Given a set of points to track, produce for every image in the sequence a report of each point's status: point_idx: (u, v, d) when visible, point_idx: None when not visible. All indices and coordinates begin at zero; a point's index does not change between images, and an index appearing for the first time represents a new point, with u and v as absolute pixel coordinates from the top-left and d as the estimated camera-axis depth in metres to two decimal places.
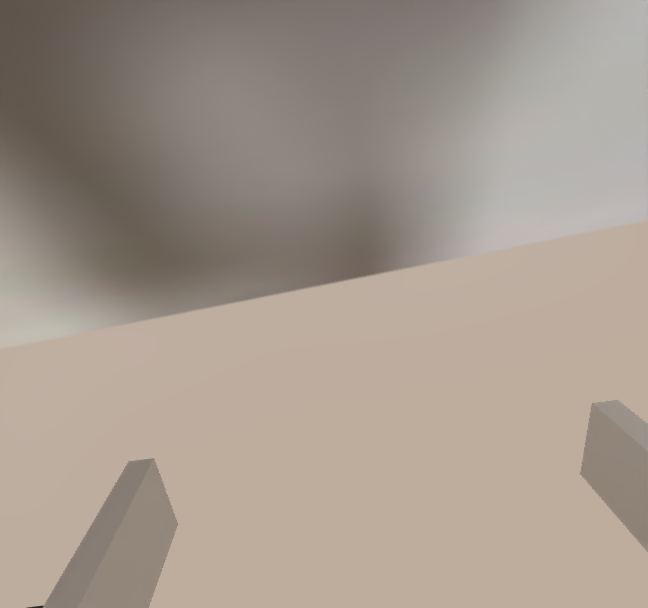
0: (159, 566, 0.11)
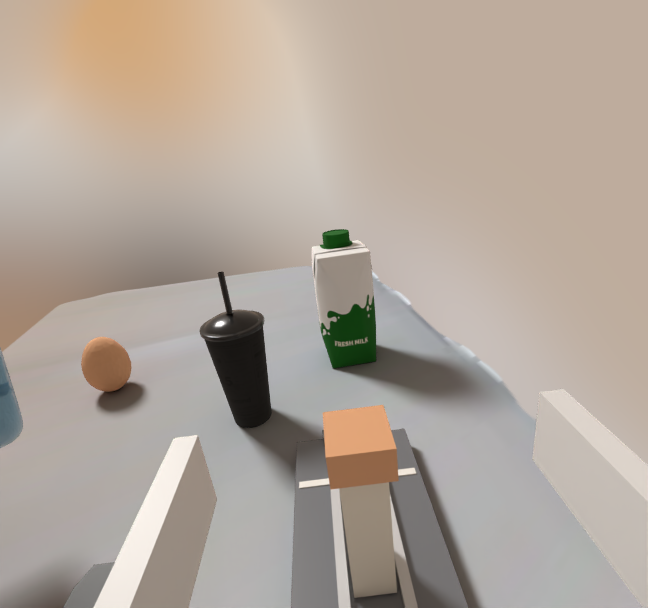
0: (204, 535, 0.11)
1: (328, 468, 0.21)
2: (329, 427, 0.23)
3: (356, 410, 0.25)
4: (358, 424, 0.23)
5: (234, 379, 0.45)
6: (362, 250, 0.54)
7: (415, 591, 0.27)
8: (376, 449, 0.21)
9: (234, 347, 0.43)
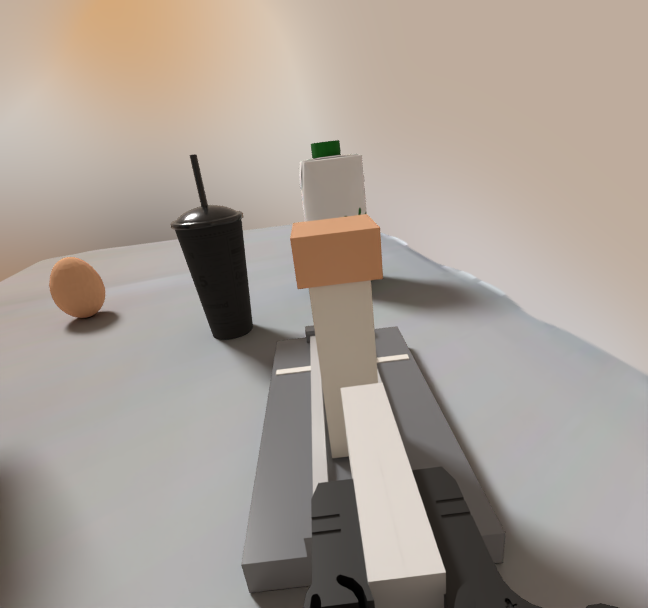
0: None
1: (294, 256, 0.17)
2: (299, 227, 0.19)
3: (333, 219, 0.20)
4: (334, 223, 0.19)
5: (209, 277, 0.40)
6: None
7: None
8: (354, 230, 0.17)
9: (208, 238, 0.39)
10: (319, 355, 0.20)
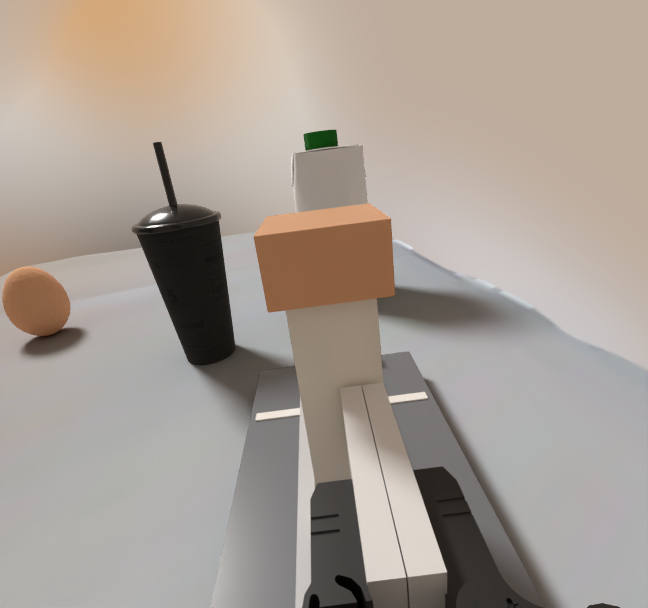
0: None
1: (261, 263, 0.11)
2: (273, 221, 0.13)
3: (323, 210, 0.14)
4: (323, 215, 0.13)
5: (179, 292, 0.33)
6: None
7: None
8: (352, 222, 0.11)
9: (176, 244, 0.31)
10: (303, 404, 0.14)
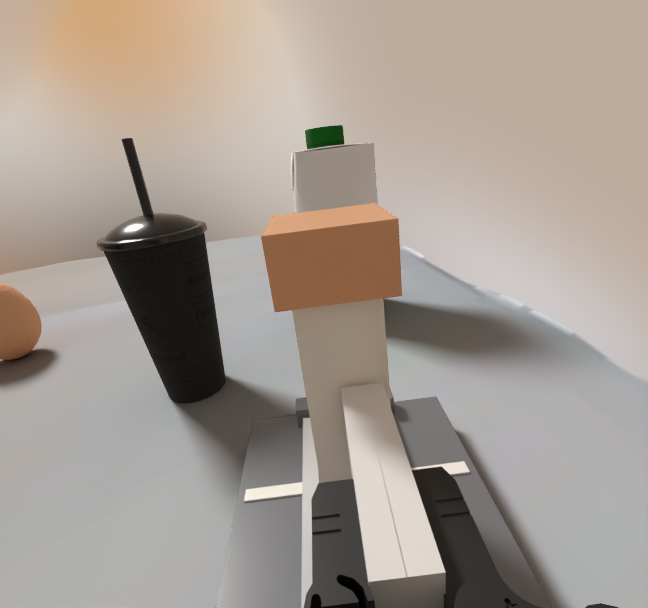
0: None
1: (268, 263, 0.11)
2: (279, 221, 0.13)
3: (328, 209, 0.14)
4: (329, 214, 0.13)
5: (155, 320, 0.28)
6: None
7: None
8: (359, 222, 0.11)
9: (149, 263, 0.26)
10: (309, 403, 0.14)
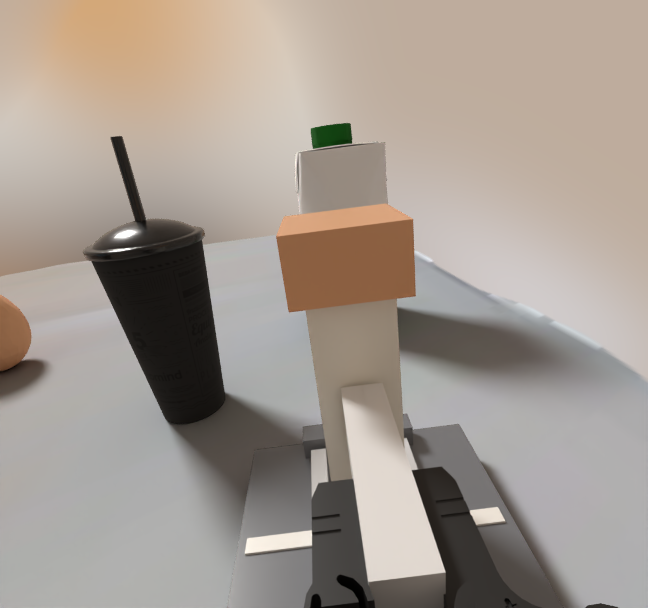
0: None
1: (283, 263, 0.11)
2: (292, 221, 0.13)
3: (340, 210, 0.15)
4: (342, 215, 0.13)
5: (148, 336, 0.25)
6: None
7: None
8: (374, 223, 0.11)
9: (141, 274, 0.23)
10: (321, 403, 0.14)
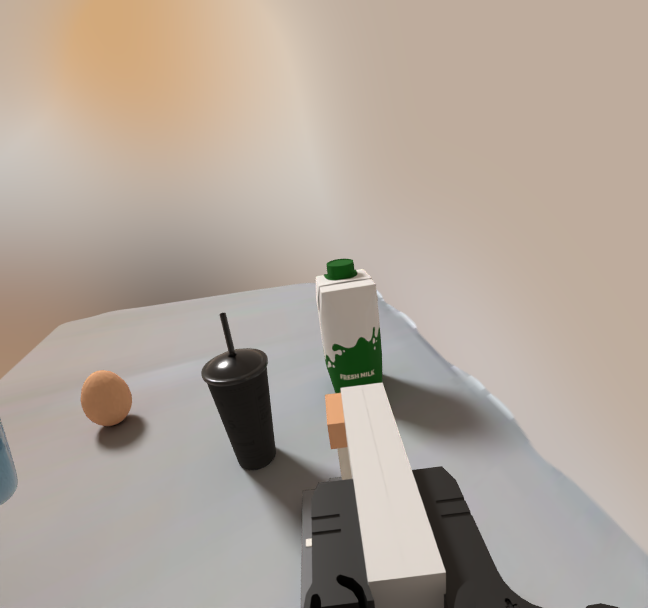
0: None
1: (329, 433, 0.30)
2: (330, 404, 0.32)
3: None
4: None
5: (237, 422, 0.43)
6: (368, 282, 0.52)
7: None
8: None
9: (237, 391, 0.42)
10: None
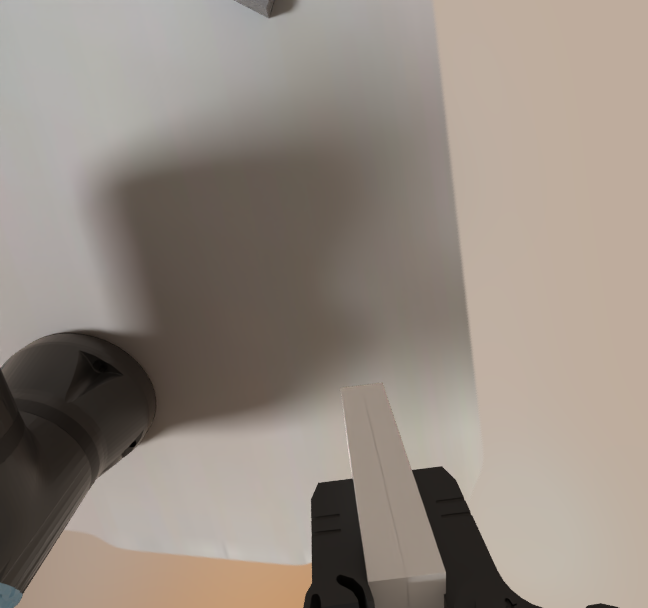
0: None
1: None
2: None
3: None
4: None
5: None
6: None
7: None
8: None
9: None
10: None
